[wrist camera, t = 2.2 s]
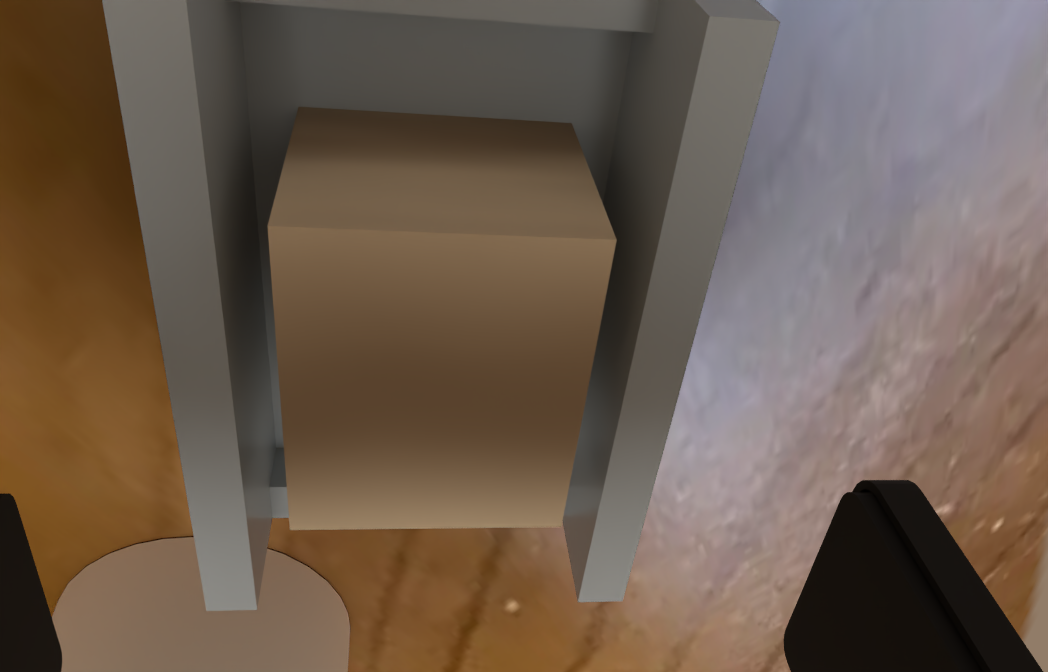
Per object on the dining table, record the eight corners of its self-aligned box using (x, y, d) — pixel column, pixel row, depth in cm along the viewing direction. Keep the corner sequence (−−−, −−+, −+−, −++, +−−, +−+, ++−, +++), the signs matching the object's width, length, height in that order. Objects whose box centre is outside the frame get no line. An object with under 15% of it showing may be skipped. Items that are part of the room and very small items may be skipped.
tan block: (298, 106, 12) (267, 225, 10) (571, 123, 13) (616, 239, 10) (310, 378, 15) (289, 530, 13) (534, 381, 16) (561, 526, 13)
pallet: (196, -121, 12) (96, -34, 8) (669, -76, 13) (780, 22, 9) (250, 410, 18) (205, 611, 14) (577, 412, 19) (622, 600, 15)
